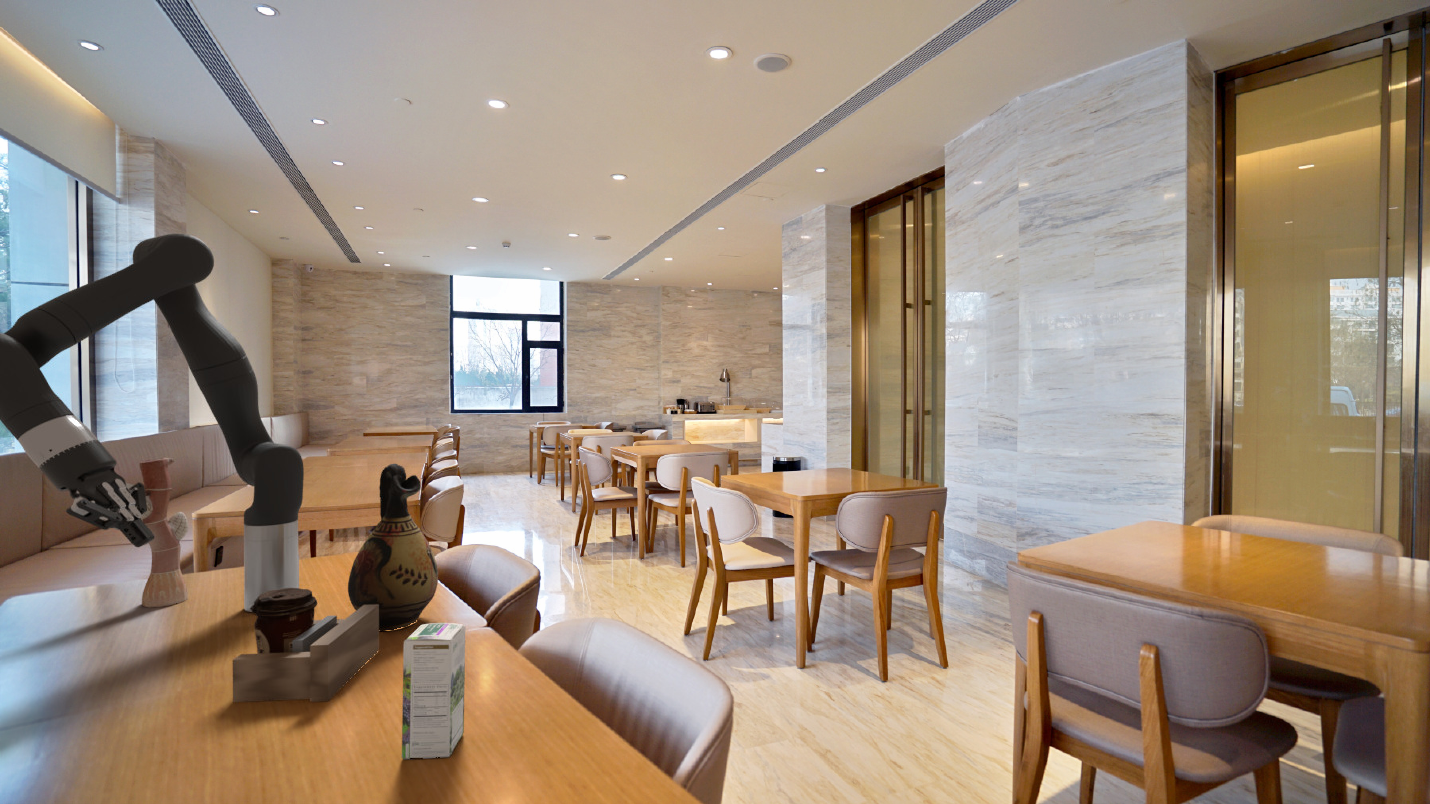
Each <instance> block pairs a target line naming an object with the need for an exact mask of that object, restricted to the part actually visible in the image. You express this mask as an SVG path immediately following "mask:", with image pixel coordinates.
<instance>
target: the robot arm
mask: <svg viewBox="0 0 1430 804" xmlns="http://www.w3.org/2000/svg"><path fill="white" fill-rule="evenodd" d="M214 265H215V259H214V255H213V251H212V250H211V248H210V247H209V246H208V245H207V244H206V242H204V241H203V240H202V239H200V238H198V237H196V236H194V235H191V234H186V233H170V234H169V233H168V234H163V235H159V236H154V237H151V238H147V239H144V240H142V241H139V242H138V244H137V245H136V246H135V247H134V249H133V252H132V264H130V265H128V266H126V267H124V268H122V269H120V270H118V271H115V272H113V273H111V274H109V275H107V276H104V277H102V278H100V279H97V280H94V281H92V282H89V283H86V284H83V285H82V286H79V287H77V288H73V289H72V290H69V291H67V292H64V293H62V294H61V295H58V296H56V297H53V298H52V299H50V300H48V301H46V302H44V303H42V304H40V305H38V306H37V307H34V308H33V309H30V310H28V311H27V312H25V313H24V314H23V315H21V316H20V317H19V318H17V320H16V321H15V322H14V323H13V325H12V326H11V328H9V329H8V330H7V331H5V332H4V333H2V332H0V422H1V423H2V424H3V425H4V426H5V428H6V429H7V430H8V431H9V432H10V434H11V435H12V436H13V437H14V439H16V441H18V443H19V444H20V446H21V447H22V449H23V451H24V452H25V454H26V455H27V456H28V457H29V459H30V460H31V461H32V462H33V463H34V464H35V465H36V467H38V469H39V470H40V471H41V472H42V474H44V476H45V477H46V478H47V479H48V480H49V481H50V483H52V485H53V486H54V487H55V488H56V490H58V491H59V492H69V495H70V498H71V499H72V500H73V503H72V505H71V506H69V507H67V508H66V509H65V512H66V513H67V514H68V515H70V516H71V517H73V518H76V519H78V520H81V521H83V522H86V523H87V524H91V525H93V526H94V527H97V528H99V529H102V530H104V531H107V530H109V529H114V530H116V531H120V532H121V533H122V534H123V535H124V537H125V538H126V539H127V540H128V541H129V543H130V544H132V545H133V546H134V547H135V548H140V547H143V546H145V545H148V544H149V542H150V541H152V540H153V539H154V538H155V536H154V535H153V533H152V532H151V530H149V528H148V527H147V526H146V525H145V523H144V522H143V521H142V520H141V517H142V514H143V513H145V512H146V511H147V504H146V496H145V488H144V483H142V482H137V483H135V484H131V483H129V482H126V479H125V478H124V476H121V475H120V474H118V473H117V472H116V471H115V468H116V466H117V465H118V463H117V460H116V459H115V458H114V456H113V455H112V454H111V452H109V450H108V449H107V448H106V447H105V446H104V445H103V443H101V441H100V440H99V439H98V438H97V436H96V435H95V434H94V433H93V431H91V429H90V428H88V426H87V425H86V424H84V423H83V422H82V421H81V420H80V419H79V418H78V417H77V416H75V413H73V412H72V411H71V409H70V408H69V407H68V406H67V404H66V403H64V402H63V399H61V398H60V397H59V396H58V395H57V394H56V392H54V391H53V389H52V387H51V386H50V384H49V382H48V380H47V378H46V377H45V375H44V373H43V372H42V370H41V368H42V367H44V366H45V365H46V364H48V362H50V361H51V360H53V359H54V358H55V357H56V356H57V355H59V354H61V353H62V352H64V351H66V350H68V349H70V348H72V347H73V346H75V345H77V344H79V343H81V342H82V341H84V340H86V339H87V338H89V337H90V336H92V335H94V334H96V333H97V332H99V331H101V330H103V329H104V328H106V327H107V326H109V325H111V324H113V323H114V322H116V321H118V320H119V319H120V318H122V317H125V316H126V315H128V314H130V313H131V312H132V311H135V310H137V309H139V308H140V307H142V306H143V305H146V304H148V303H150V302H152V301H154V303H155V304H156V306H157V307H158V308H159V310H160V312H161V313H162V315H163V317H164V319H165V320H166V322H167V324H168V327H169V329H170V331H171V332H172V334H173V337H174V339H175V341H176V342H177V344H178V347H179V348H180V351H181V353H182V354H183V356H184V359H185V361H186V363H187V366H188V367H189V370H190V372H191V374H192V376H193V378H194V380H195V382H196V384H197V386H198V388H199V390H200V392H201V394H202V395H203V397H204V399H205V401H206V403H207V406H208V407H209V409H210V412H211V413H212V415H213V417H214V419H215V421H216V422H217V424H218V426H219V428H220V429H221V432H222V434H223V437H224V439H225V442H226V445H227V448H228V451H229V454H230V456H231V460H232V463H233V467H234V468H235V470H236V473H237V475H238V477H239V478H240V479H241V480H242V481H243V482H244V483H245V484H247V485H250V486H251V487H254V488H253V500H252V501H253V502H252V504H251V505H250V506H249V507H248V508H246V509H245V510H244V512H243V563H244V564H243V565H244V566H243V570H244V571H243V573H244V574H243V575H244V576H243V578H244V580H243V581H244V582H243V587H244V589H243V592H244V593H243V597H244V599H243V604H244V605H243V606H244V607H243V608H244V611H246V612H249V613H253V612H252V610H251V609H250V608H251V607H252V606H253V605H254V602H255V600H256V599H257V598H258V597H259V596H260V594H263V593H265V592H267V591H271V590H277V589H283V588H300V554H299V511H300V510H301V507H302V503H303V499H304V498H303V497H304V480H305V479H304V477H305V475H304V474H305V472H304V471H305V469H304V461H303V457H302V455H301V453H300V451H298V449H296V448H295V447H294V446H291V445H289V444H284V443H275V442H274V440H273V439H272V438H271V436H270V434H269V432H268V430H267V428H266V426H265V425H264V422H263V421H262V417H261V414H260V410H259V387H258V386H259V385H258V380H257V377H256V373H255V370H254V369H253V366H252V364H251V362H250V359H249V358H248V356H247V353H246V351H245V349H244V347H243V346H242V344H241V343H240V342H239V341H238V340H237V339H236V337H235V336H234V335H233V334H232V333H231V332H230V330H228V329H227V328H226V327H225V326H224V325H223V324H222V323H221V322H220V321H218V319H216V317H215V316H214V315H213V314H212V313H211V311H210V310H209V309H208V307H207V306H206V304H205V303H204V300H203V298H202V296H201V294H200V291H199V290H198V287H197V285H196V284H198V283H200V282H203V281H204V280H207V278H208V277H209V276H211V273H212V272H213V269H214ZM136 507H137V508H136Z"/></svg>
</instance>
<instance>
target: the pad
mask: <svg viewBox="0 0 1430 804" xmlns="http://www.w3.org/2000/svg"><path fill="white" fill-rule="evenodd" d="M337 619H338V616H337V615H336V614H335V615H327V616H325V617H324V618H322V619H320V620H321V621H320V622H318V623H317V624H315V625H314V626H312V627H311V628H310V629H308V630H307V631H305V632H304V633H303V634H301V635H300V636H298V637H297V638H295V639H294V640H293V641H292V652H310V645H312V644H313V643H314V642H315V641H317V640H318V639H319V638H321V637H322V636H323V635H325V634H326V633H327V632H329V631H330V630H331V629H333V628H334V627H335V626H337Z"/></svg>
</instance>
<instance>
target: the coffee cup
mask: <svg viewBox="0 0 1430 804" xmlns="http://www.w3.org/2000/svg"><path fill="white" fill-rule="evenodd" d="M317 605H318V601H317V599H316V597H315V596H313V591H312V590H310V589H308V588H304V589H303V588H300V587H299V588H283V589H277V590H271V591H267V592H265V593H263V594H260V596H259V597H258V598H257V599H256V600H255V602H254V605H253V606H252V607H251V608H250V609H251V610H252V612H251V613H253V614H254V615H255V616H256V619H255V621H254V623H253V624H254V625H253V628H254V634H255V642H256V643H255V644H256V654H261V653H289V652H292V641H293V640H294V639H295V638H297V637H298V636H300V635H301V634H303V633H304V632H305V631H307V630H308V629H310V628H311V627H312V626H313V624H314V620H315V613H316V611H315V608H316V607H317Z"/></svg>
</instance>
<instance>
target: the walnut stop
mask: <svg viewBox="0 0 1430 804" xmlns="http://www.w3.org/2000/svg"><path fill="white" fill-rule="evenodd" d="M321 620H322V619H314V624H313V626H314V625H315V624H317V623H318V622H320V621H321ZM378 650H379V651H380V631H379V604H376V605H363V606H362V607H360V608H359V609H358V610H355V611H354V612H353V613H351V614H349V615H348V616H347V617H345V618H343V619H340V618H337V626H335V627H334V628H333V629H331V630H330V631H329V632H327V633H326V634H325V635H323V636H322V637H321V638H319V639H318V640H317V641H315V642H314V643H313V644H312V645H310V652H289V653H261V654H258V653H241V654H240V655H238V656H236V657H234V658H233V659H232V703H239V702H240V703H241V702H262V701H263V702H264V701H267V702H269V701H289V700H292V701H293V700H308V699H309V700H310V701H309V702H310V703H314V702H315V703H317V702H329V701H330V700H331V699H332V698H333V697H334V696H335V695H337V694H338V692H339V691H340V690H341V689H342V688H344V686H345V685H346V684H347V683H348V682H349V681H350V680H351V679H352V678H353V677H354V676H355V675H356V674H357V673H358V670H359V669H361V667H362V666H363V665H365V663H366V662H367V661H368V660H370V658H372V657H373V656H374V654H376V653H377V651H378ZM377 654H378V653H377ZM377 654H376V655H377ZM374 657H375V656H374ZM374 657H373V658H374ZM373 658H372V659H373ZM370 661H371V660H370ZM365 666H366V665H365ZM361 670H362V669H361ZM355 673H356V674H355ZM354 674H355V675H354ZM351 677H352V678H351ZM350 678H351V679H350ZM347 681H348V682H347ZM346 682H347V683H346ZM343 685H344V686H343ZM340 688H341V689H340ZM339 689H340V690H339Z"/></svg>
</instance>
